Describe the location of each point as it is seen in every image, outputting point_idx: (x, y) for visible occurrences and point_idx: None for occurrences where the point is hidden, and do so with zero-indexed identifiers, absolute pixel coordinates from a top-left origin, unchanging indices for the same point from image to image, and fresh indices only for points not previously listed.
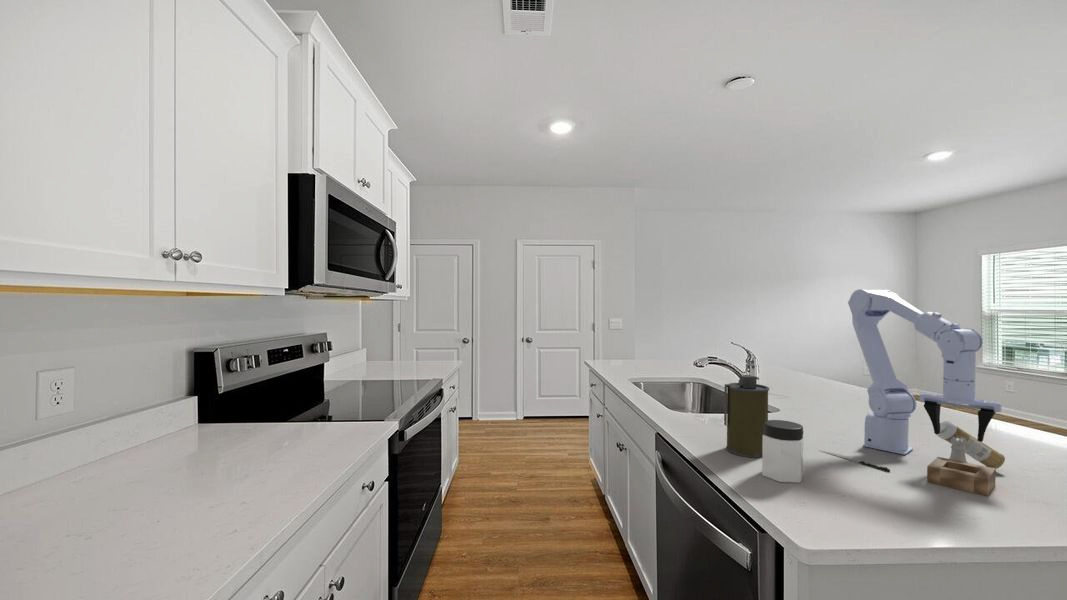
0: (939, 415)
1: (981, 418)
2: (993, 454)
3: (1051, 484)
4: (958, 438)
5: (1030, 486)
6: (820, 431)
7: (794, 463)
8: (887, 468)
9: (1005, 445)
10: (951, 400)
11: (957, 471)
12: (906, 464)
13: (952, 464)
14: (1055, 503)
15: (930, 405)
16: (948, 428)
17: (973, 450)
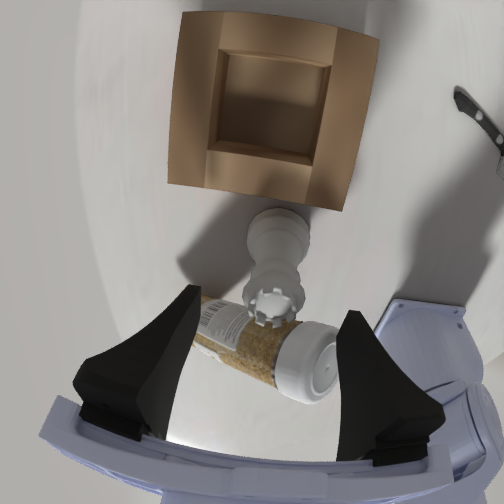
0: (343, 408)
1: (138, 362)
2: None
3: (105, 262)
4: (272, 315)
5: (125, 214)
6: (495, 352)
7: None
8: (463, 100)
9: (208, 424)
10: (316, 492)
11: (278, 31)
12: (407, 211)
13: (296, 160)
14: (79, 109)
15: (413, 431)
16: (308, 352)
17: (232, 309)
